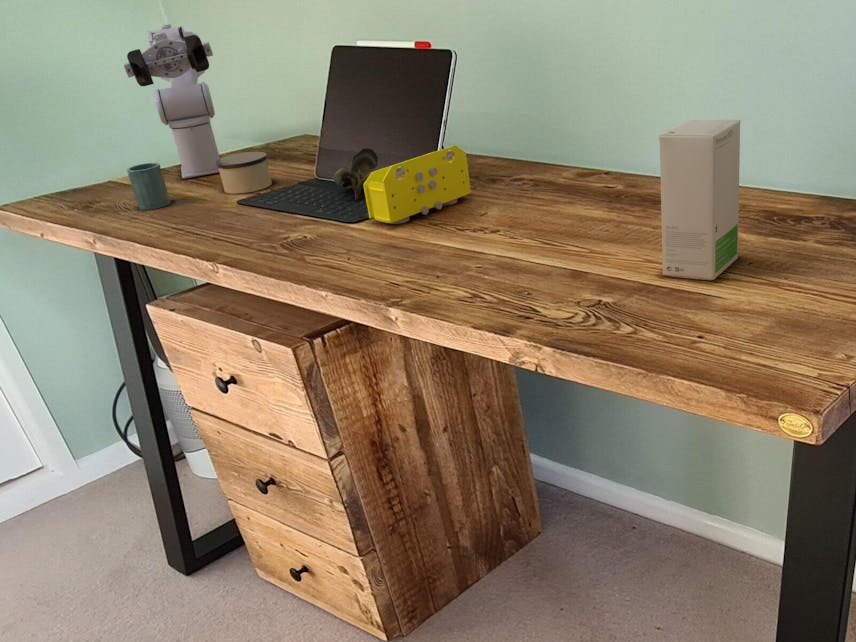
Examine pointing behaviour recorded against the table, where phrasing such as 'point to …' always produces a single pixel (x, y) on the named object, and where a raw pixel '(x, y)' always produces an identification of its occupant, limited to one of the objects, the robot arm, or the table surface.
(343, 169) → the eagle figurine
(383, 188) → the yellow toy chassis
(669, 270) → the cosmetic box
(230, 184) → the jar
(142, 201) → the cup
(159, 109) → the robot arm
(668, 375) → the table surface
